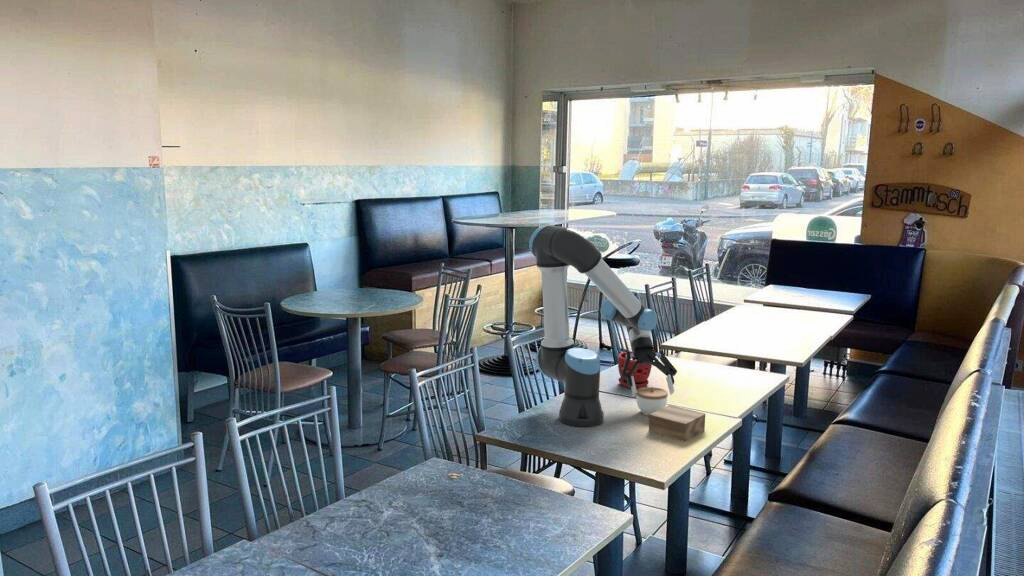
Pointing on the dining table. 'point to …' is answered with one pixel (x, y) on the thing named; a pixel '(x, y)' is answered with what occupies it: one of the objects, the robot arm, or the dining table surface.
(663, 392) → the lidded jar
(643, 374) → the plant pot
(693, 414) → the walnut block
